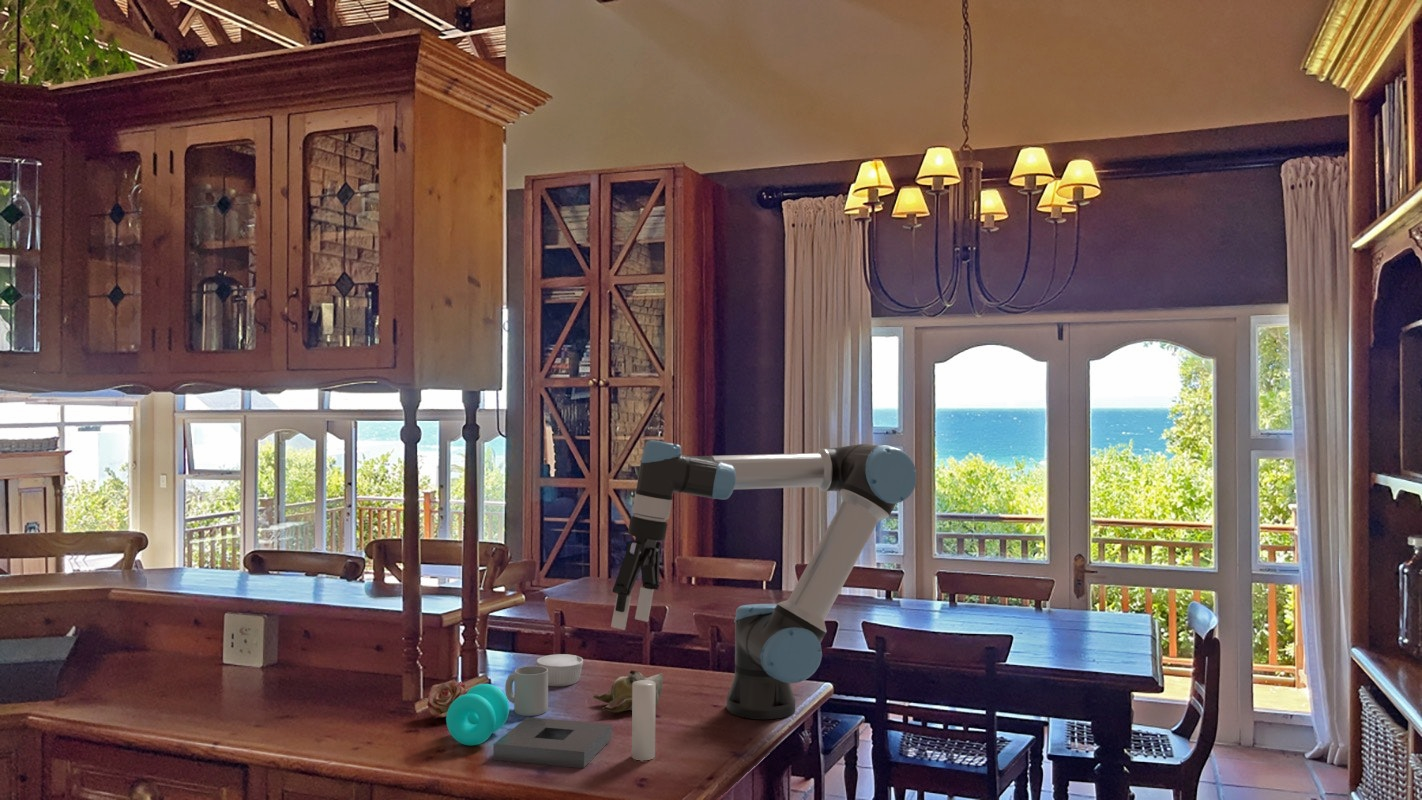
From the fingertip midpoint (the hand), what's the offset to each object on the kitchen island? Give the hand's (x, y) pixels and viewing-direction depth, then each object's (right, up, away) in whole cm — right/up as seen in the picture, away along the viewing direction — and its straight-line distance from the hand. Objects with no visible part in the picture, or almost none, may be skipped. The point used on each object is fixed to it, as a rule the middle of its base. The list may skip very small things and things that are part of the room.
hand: (630, 624), depth 191 cm
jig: (-14, -23, -4) cm, 28 cm away
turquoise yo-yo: (-31, -24, +2) cm, 39 cm away
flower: (-40, -24, +14) cm, 49 cm away
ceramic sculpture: (-2, -24, +22) cm, 33 cm away
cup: (-25, -24, +20) cm, 40 cm away
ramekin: (-21, -24, +43) cm, 53 cm away
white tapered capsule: (+3, -24, -7) cm, 25 cm away
